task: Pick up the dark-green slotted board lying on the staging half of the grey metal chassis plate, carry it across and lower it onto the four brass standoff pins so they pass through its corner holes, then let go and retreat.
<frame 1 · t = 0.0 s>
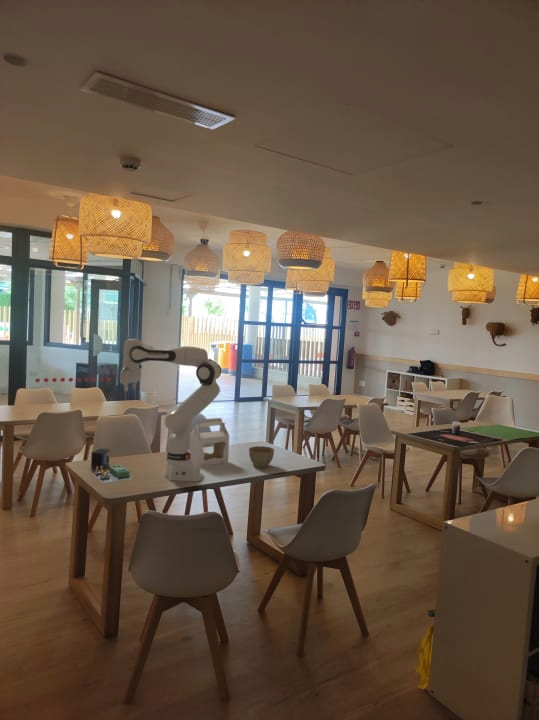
hand: (130, 390, 300), 48 cm above the table, fingers open, 8 cm apart
small box: (100, 468, 307), on the table
gable box: (208, 462, 332), on the table
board: (119, 473, 294), point 1 cm above the table, touching chassis
planter bowl: (260, 466, 328), on the table
chassis: (111, 477, 289), on the table
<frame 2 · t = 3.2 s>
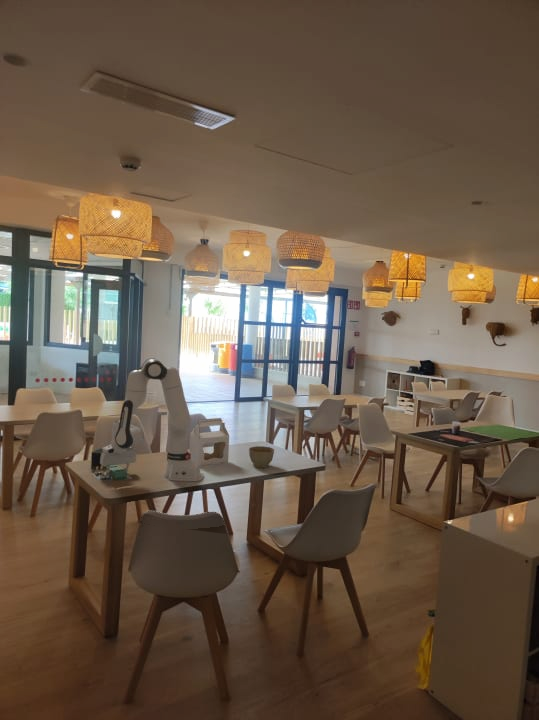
hand: (117, 471, 293), 2 cm above the table, fingers open, 8 cm apart
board: (116, 473, 293), point 1 cm above the table, touching chassis
everything else where it was.
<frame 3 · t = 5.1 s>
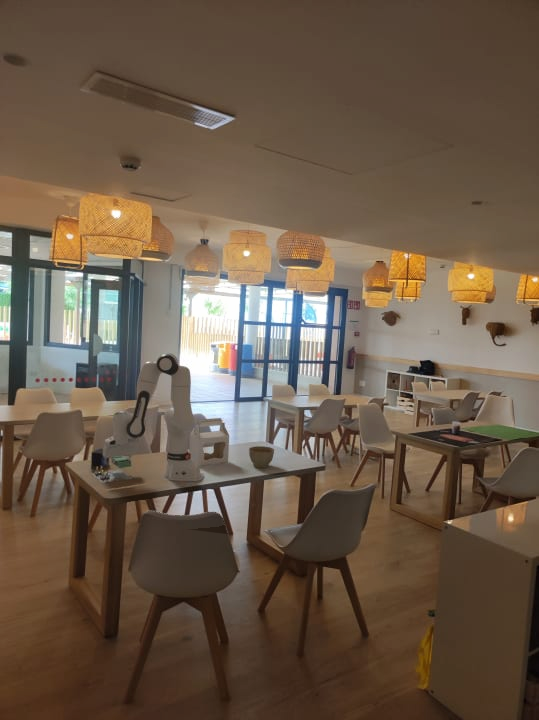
hand: (121, 463, 294), 7 cm above the table, fingers closed on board, 6 cm apart
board: (121, 464, 295), point 6 cm above the table, touching gripper
everything else where it was.
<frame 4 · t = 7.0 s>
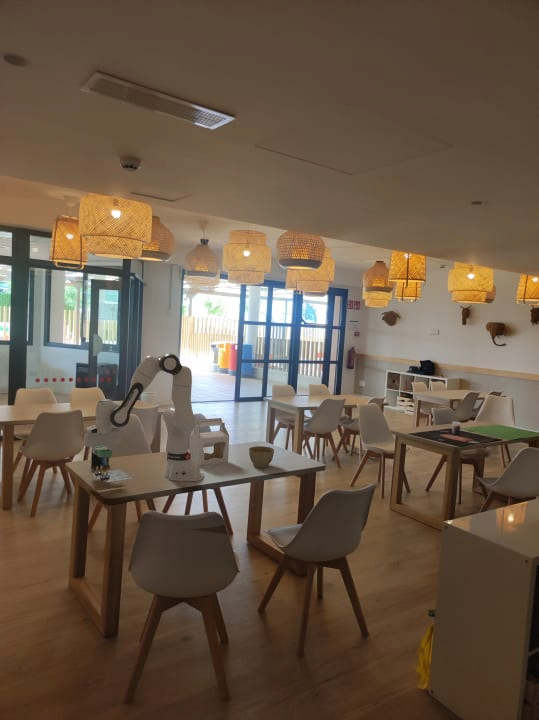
hand: (101, 452, 287), 14 cm above the table, fingers closed on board, 6 cm apart
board: (101, 454, 287), point 13 cm above the table, touching gripper
everything else where it was.
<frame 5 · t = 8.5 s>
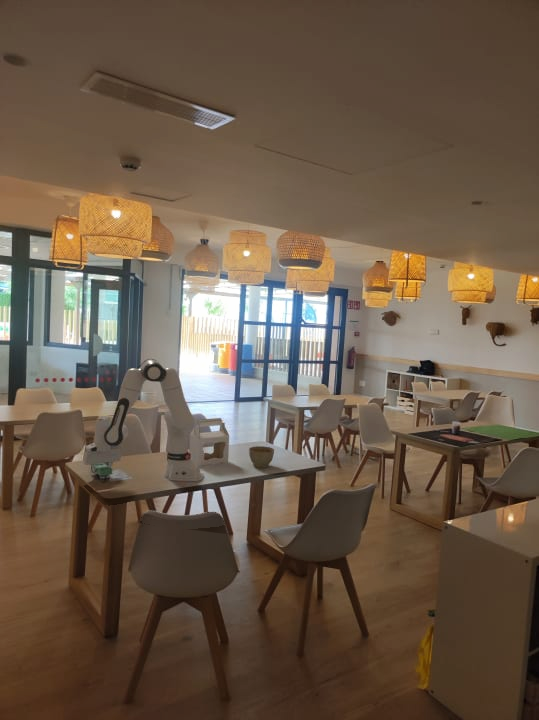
hand: (101, 470, 288), 4 cm above the table, fingers closed on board, 6 cm apart
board: (101, 471, 288), point 3 cm above the table, touching gripper
everything else where it was.
when the fingers open (4 cm above the table, at t = 9.8 s): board stays where it is, resting on chassis.
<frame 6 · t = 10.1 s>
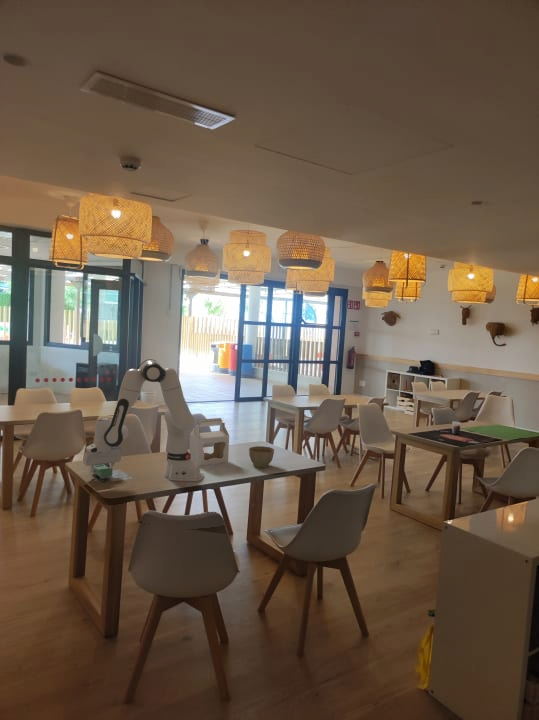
hand: (102, 471, 288), 4 cm above the table, fingers open, 8 cm apart
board: (102, 473, 288), point 2 cm above the table, touching chassis
everything else where it was.
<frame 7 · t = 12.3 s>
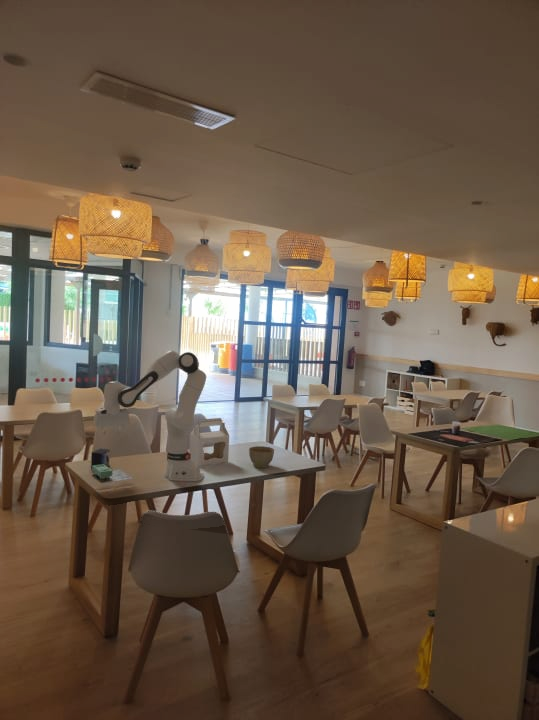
hand: (111, 433, 296), 23 cm above the table, fingers open, 8 cm apart
nothing on the table moved.
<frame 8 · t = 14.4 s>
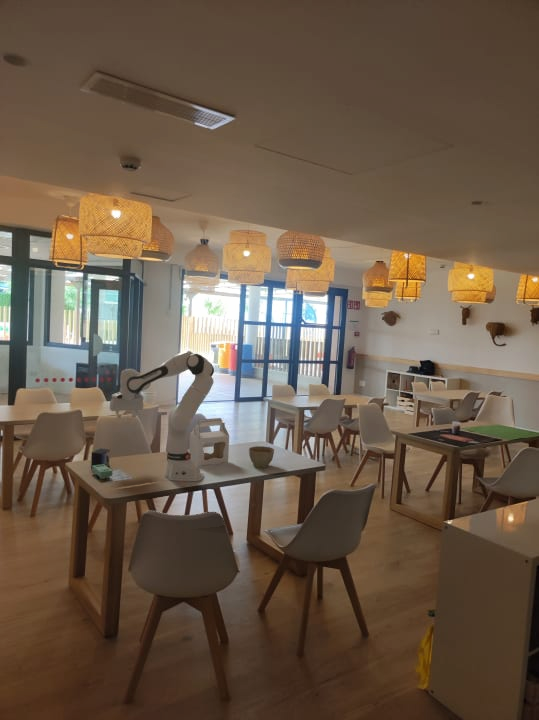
hand: (126, 417, 315), 29 cm above the table, fingers open, 8 cm apart
nothing on the table moved.
at the end: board 0.2 cm from the target spot on the chassis, point 2.5 cm above the chassis's base; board tilted 0°; the gripper is holding nothing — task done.
